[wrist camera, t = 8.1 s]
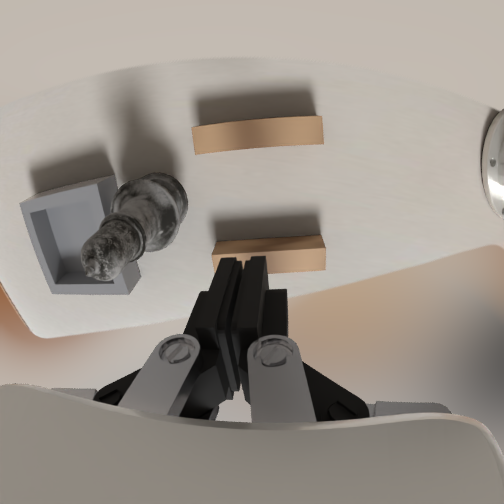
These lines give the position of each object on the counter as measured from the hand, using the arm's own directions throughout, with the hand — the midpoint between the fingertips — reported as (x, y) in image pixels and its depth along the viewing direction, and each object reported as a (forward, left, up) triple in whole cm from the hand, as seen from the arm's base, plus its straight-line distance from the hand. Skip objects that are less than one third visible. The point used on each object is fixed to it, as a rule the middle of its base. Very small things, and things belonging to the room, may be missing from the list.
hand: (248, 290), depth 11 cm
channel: (0, 0, -14) cm, 14 cm away
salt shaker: (+9, 0, -14) cm, 16 cm away
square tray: (+18, +2, -14) cm, 22 cm away
